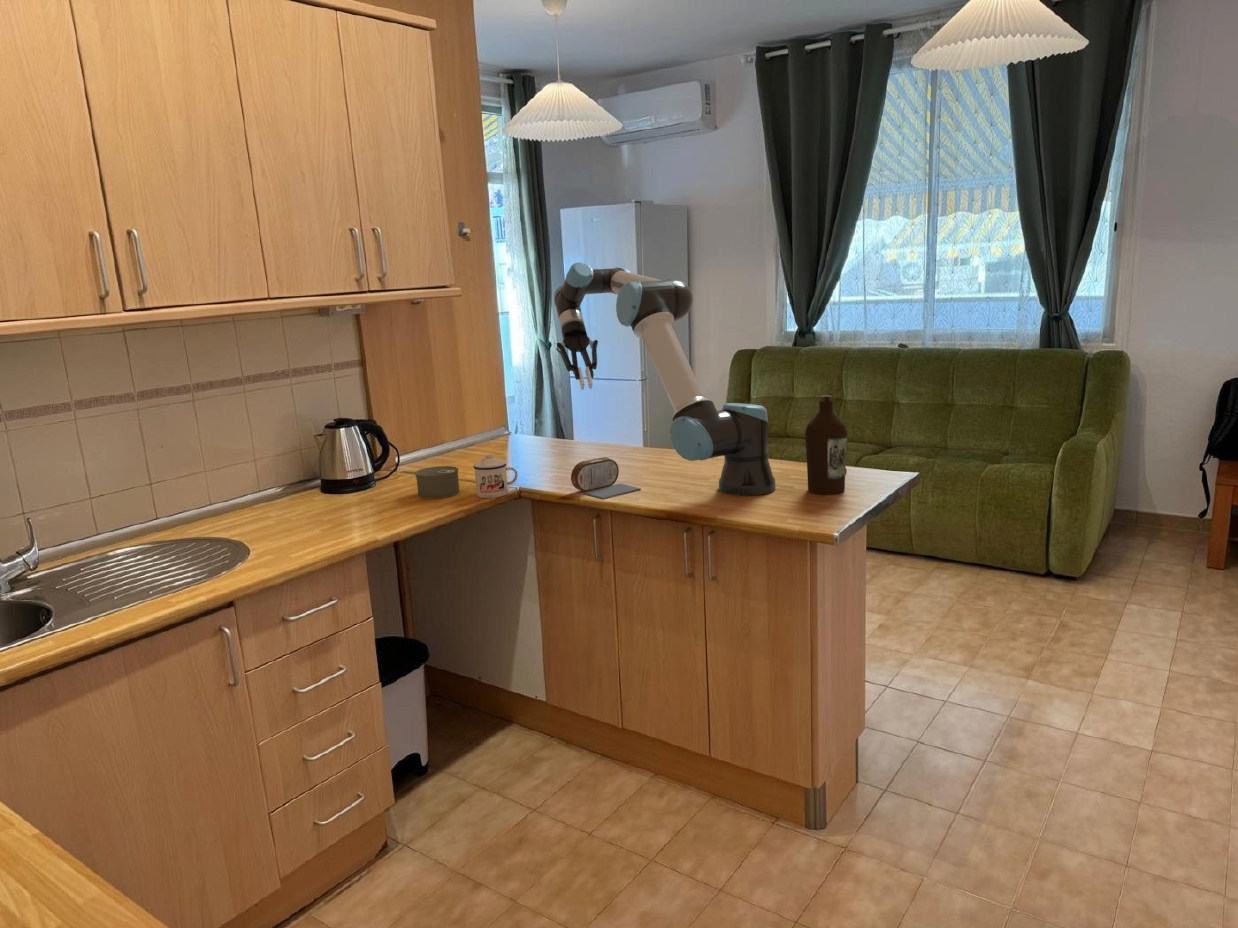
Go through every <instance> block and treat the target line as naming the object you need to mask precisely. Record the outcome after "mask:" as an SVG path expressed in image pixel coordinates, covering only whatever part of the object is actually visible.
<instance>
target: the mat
mask: <svg viewBox="0 0 1238 928" xmlns="http://www.w3.org/2000/svg"><path fill="white" fill-rule="evenodd" d="M637 490H638V491H641V490H642V488H641V487H636V486H633V485H628V484H624V483H616V484H613V485H611V486H608V487H604V488H599V489H595V490H591V491H583V495H586V496H587V495H588V496H590V497H594V498H598V499H600V500H605V499H610V498H614V497H618V496H621V495H625V494H630V493H634V492H637Z"/></svg>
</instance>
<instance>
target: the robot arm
mask: <svg viewBox="0 0 1238 928" xmlns="http://www.w3.org/2000/svg"><path fill="white" fill-rule="evenodd" d="M594 294H597V295H598V294H614V295H617V297H616V303H615V305H616V307H615V311H616V317H617V319H618V322H619V323H620V325H622V326H624V327H626V328H627V327H631V329H632V332H633V334H634V336H635V337H636V338H639V339H642V340H643V343H644V345H645V348H646V350H647V352H648V353H649V357H650V359H651V360H652V361H651V362H652V363H653V366H654V367H655V370H656V373H657V375H658V376H659V379H660V381H661V383H662V386H663V388H664V390H665V392H666V395H667V397H668V400H669V402H670V404H671V406H672V409H673V411H674V413H673V415H672V416H671V420H672V422H671V425H670V427H669V433H670V437H669V438H670V441H671V444H672V447H673V449H674V450H675V451H676V453H677V454H678V455H679V456H680V457H681V459H684V460H687V461H689V462H695V461H706V460H709V459H713V458H718V457H724V463H723V466H722V469H721V474H720V478H719V479H718V490H719V491H720V492H721V493H723V494H726V495H733V496H758V495H764V494H768V493H772V492H774V491H776V485H777V484H776V479H775V477H774V475H773V471H772V468H771V465H770V462H769V461H770V460H769V419H768V410H767V408H766V407H765V406H763V405H760V404H759V405H758V404H753V403H739V402H737V403H735V402H732V403H731V402H729V403H728V402H726V403H723V405H722V408H721V409H722V410H720V411H718V410H717V408H716V406H715V404H714V402H713V400H712V399H709V398H705V396H704V393H703V391H702V389H701V387H700V385H699V383H698V379H696V377H695V373H694V371H693V370H692V369H693V368H692V367H691V365H690V363H689V361H688V359H687V356H686V354H685V352H684V350H683V348H682V345H681V343H680V341H679V339H678V337H677V335H676V332H675V330H674V328H673V326H672V325H673V323H674V322H675V321H679V320H681V319H683V318H684V317H685V316H686V315H688V313H689V312H690V310H691V308H692V305H693V302H694V297H693V293H692V290H691V288H690V287H689V285H688V284H687V283H685V282H684V281H682V280H679V279H674V278H664V279H658V278H653V277H649V276H646V275H642V274H637V273H634V272H633V273H632V272H631V271H630V270H629V268H626V267H613V268H600V269H599V268H594V269H593V268H592V267H591V266H590V265H589V264H587V263H583V262H580V261H578V262H574V263H573V264H572V265H571V266H570V268H569V269H568V271H567V273H566V276H565V279H564V282H563V284H562V285H560V286H558V287H557V288H556V289H555V291H554V294H553V298H554V299H553V300H554V305H555V309H556V313H557V317H558V321H559V322H558V323H559V325H560V331H561V335H562V339H563V340H562V342H557V343H556V351H557V352H558V353H559V354H560V357H561V359H562V361H563V363H564V366H565V368H566V371H568V372H572V373H573V374H574V379H575V380H576V381H579V386H580V390H584V389H585V379H584V377H583V372H582V367H581V366H580V367H579V363H578V357H577V355H578V354H577V353H580V355H581V356H582V361H583V362H584V364H585V365H584V366H585V376H586V380H587V385H588V389H589V390H592V389H593V384H594V383H593V379H594V375H595V374H594V370H597V366H598V354H597V353H598V352H597V351H598V350H597V349H598V345H599V344H598V343H599V341H598V340H597V339H594V340H591V338H590V337H589V336H588V333H587V330H586V325H585V320H584V317H583V313H582V309H581V305H582V302H583V300H584V298H585V296H586V295H594ZM588 346H590V347H589V348H590V349H591V359H590V356H589V353H588V350H587V348H588ZM566 349H567V350H569V351H570V356H571V360H570V357H569V355H568V353H567V350H566Z"/></svg>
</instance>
